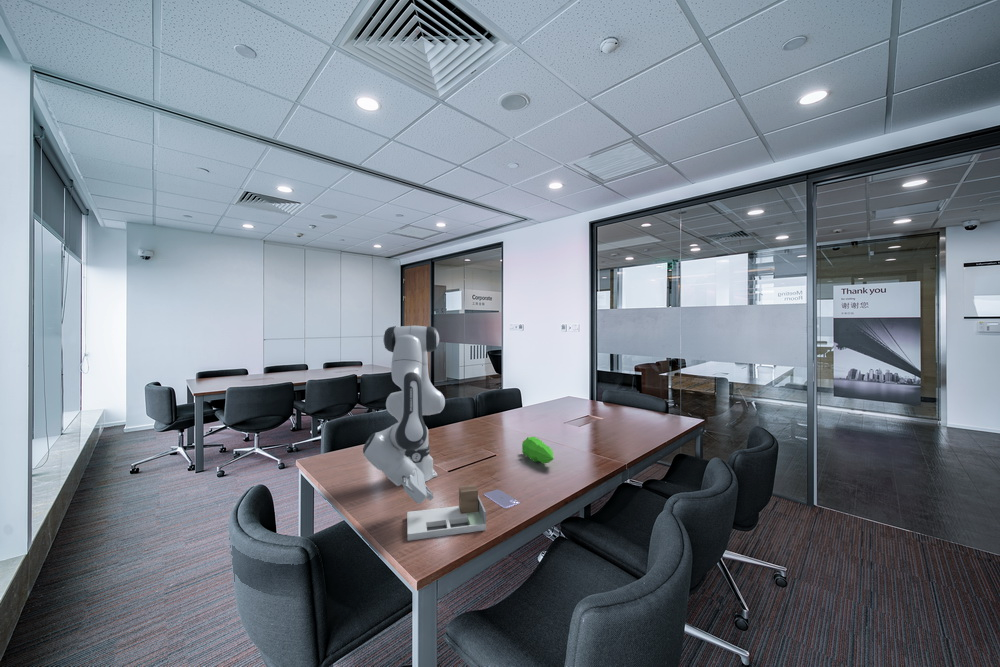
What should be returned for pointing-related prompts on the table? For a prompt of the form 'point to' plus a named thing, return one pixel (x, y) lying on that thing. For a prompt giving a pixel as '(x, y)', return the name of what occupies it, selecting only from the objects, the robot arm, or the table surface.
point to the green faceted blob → (537, 450)
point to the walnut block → (468, 499)
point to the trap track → (444, 522)
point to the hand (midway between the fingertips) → (431, 497)
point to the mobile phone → (501, 498)
